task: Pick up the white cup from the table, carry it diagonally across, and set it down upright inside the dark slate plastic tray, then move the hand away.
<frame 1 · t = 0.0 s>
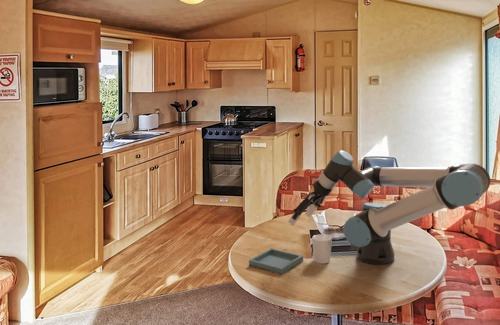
hand: (299, 219, 203), 15 cm above the table, tool tilted 35°, fingers open, 13 cm apart
slate tray: (276, 263, 195), on the table
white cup: (321, 261, 197), on the table
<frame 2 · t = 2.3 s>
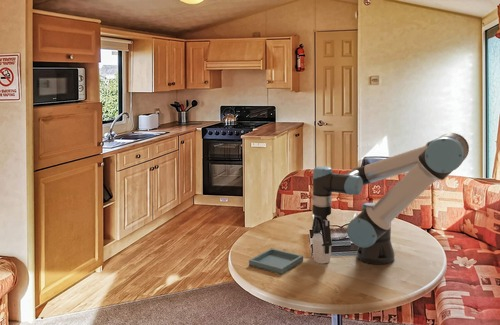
hand: (321, 254, 197), 3 cm above the table, tool pointing down, fingers open, 13 cm apart
nothing on the table moved.
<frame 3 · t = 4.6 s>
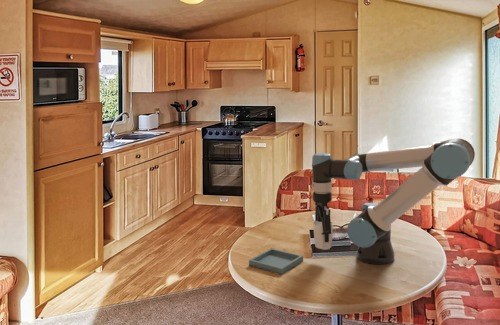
hand: (323, 245, 196), 7 cm above the table, tool pointing down, fingers closed on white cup, 8 cm apart
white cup: (323, 246, 196), point 6 cm above the table, touching gripper
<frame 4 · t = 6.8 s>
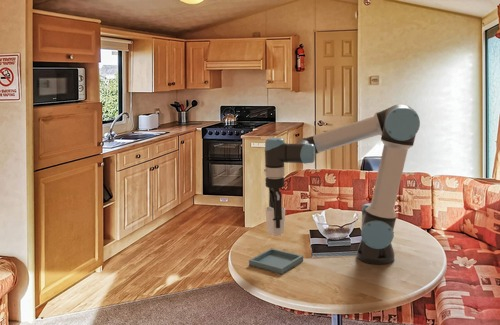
hand: (275, 231, 193), 14 cm above the table, tool pointing down, fingers closed on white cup, 8 cm apart
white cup: (275, 232, 193), point 13 cm above the table, touching gripper
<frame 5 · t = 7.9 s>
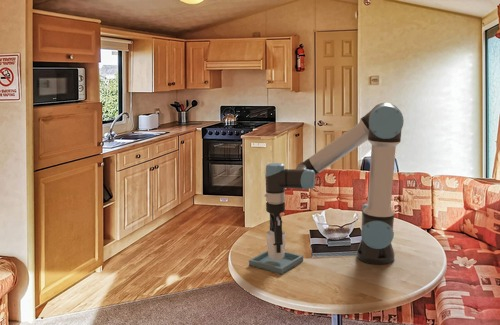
hand: (276, 255, 195), 3 cm above the table, tool pointing down, fingers closed on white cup, 8 cm apart
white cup: (276, 256, 195), point 3 cm above the table, touching gripper
when the fingers open (2 cm above the table, at t = 9.0 s): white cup stays where it is, resting on slate tray.
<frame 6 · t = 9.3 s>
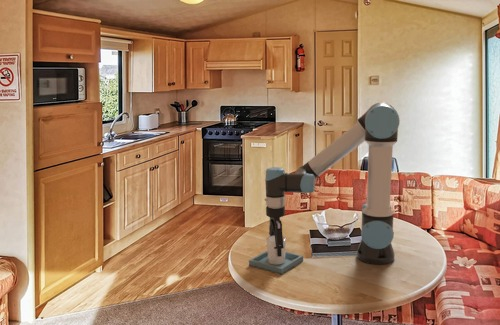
hand: (276, 258, 195), 2 cm above the table, tool pointing down, fingers open, 10 cm apart
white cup: (276, 262, 195), resting on slate tray
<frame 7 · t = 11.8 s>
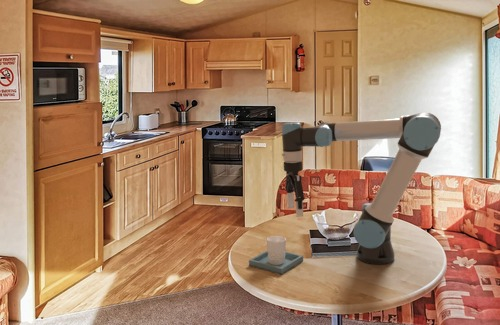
hand: (295, 212, 195), 21 cm above the table, tool pointing down, fingers open, 13 cm apart
nothing on the table moved.
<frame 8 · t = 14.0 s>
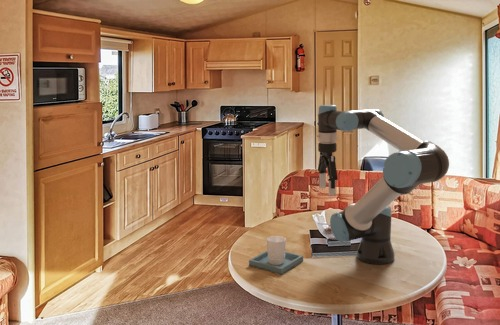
hand: (327, 191, 202), 27 cm above the table, tool pointing down, fingers open, 13 cm apart
nothing on the table moved.
at the end: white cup inside the target area on the slate tray (0.2 cm from its centre), point 0.4 cm above the slate tray's base; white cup tilted 0°; the gripper is holding nothing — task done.
